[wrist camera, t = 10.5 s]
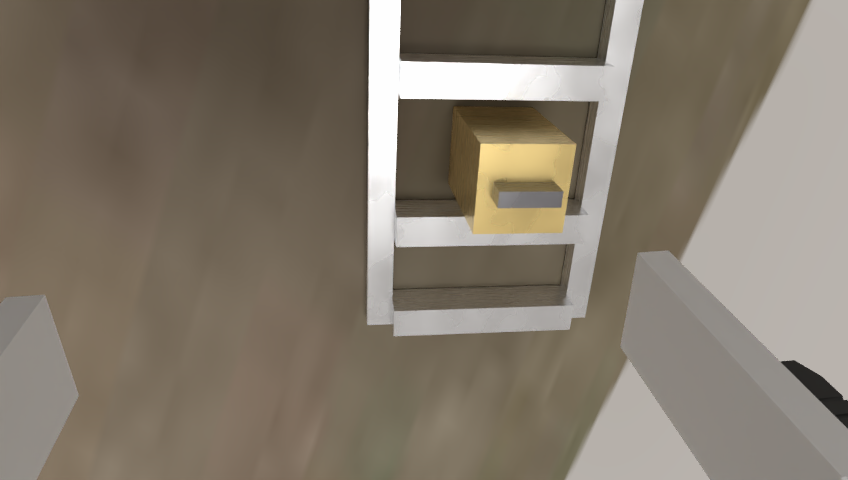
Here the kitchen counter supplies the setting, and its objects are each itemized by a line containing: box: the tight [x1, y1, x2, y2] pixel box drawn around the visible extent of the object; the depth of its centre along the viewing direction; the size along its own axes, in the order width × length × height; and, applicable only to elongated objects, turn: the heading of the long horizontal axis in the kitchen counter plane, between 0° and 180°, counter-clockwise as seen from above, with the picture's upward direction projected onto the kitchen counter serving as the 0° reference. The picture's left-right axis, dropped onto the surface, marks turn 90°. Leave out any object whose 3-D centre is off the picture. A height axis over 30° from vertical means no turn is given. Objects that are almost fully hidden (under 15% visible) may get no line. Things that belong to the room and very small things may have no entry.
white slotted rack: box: [366, 0, 644, 336], centre depth 34 cm, size 22×14×2 cm, turn 177°
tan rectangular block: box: [448, 106, 576, 234], centre depth 32 cm, size 4×4×8 cm
